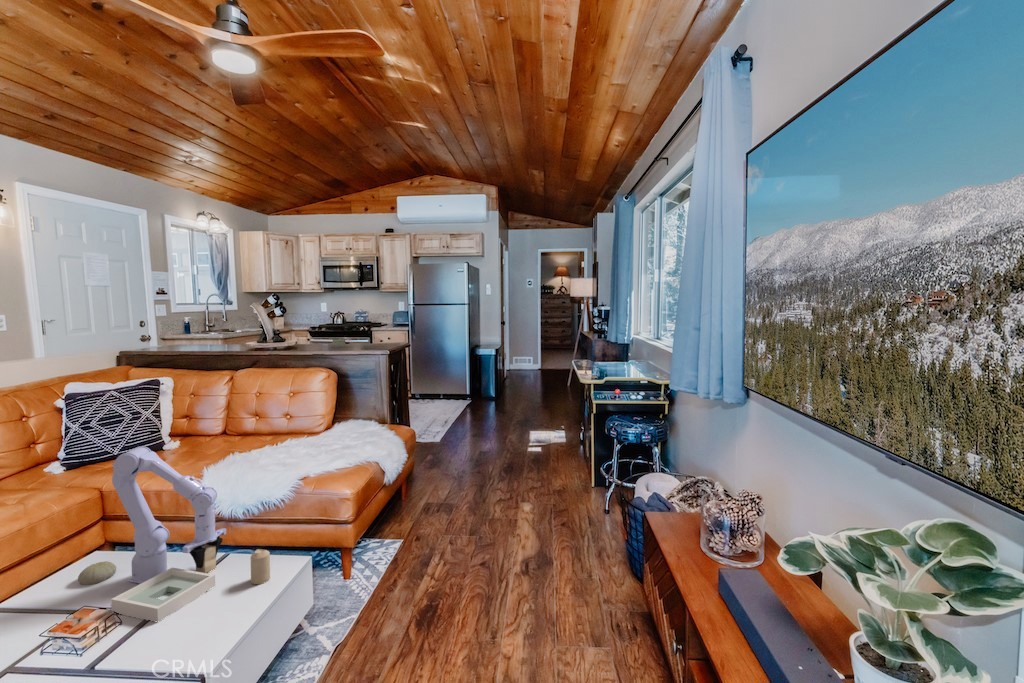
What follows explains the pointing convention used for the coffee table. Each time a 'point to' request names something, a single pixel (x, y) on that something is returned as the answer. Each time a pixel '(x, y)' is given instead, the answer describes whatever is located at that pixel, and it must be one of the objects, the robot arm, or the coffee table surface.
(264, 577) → the candle
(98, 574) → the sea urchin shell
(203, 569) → the peg
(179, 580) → the tray
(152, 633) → the coffee table surface
